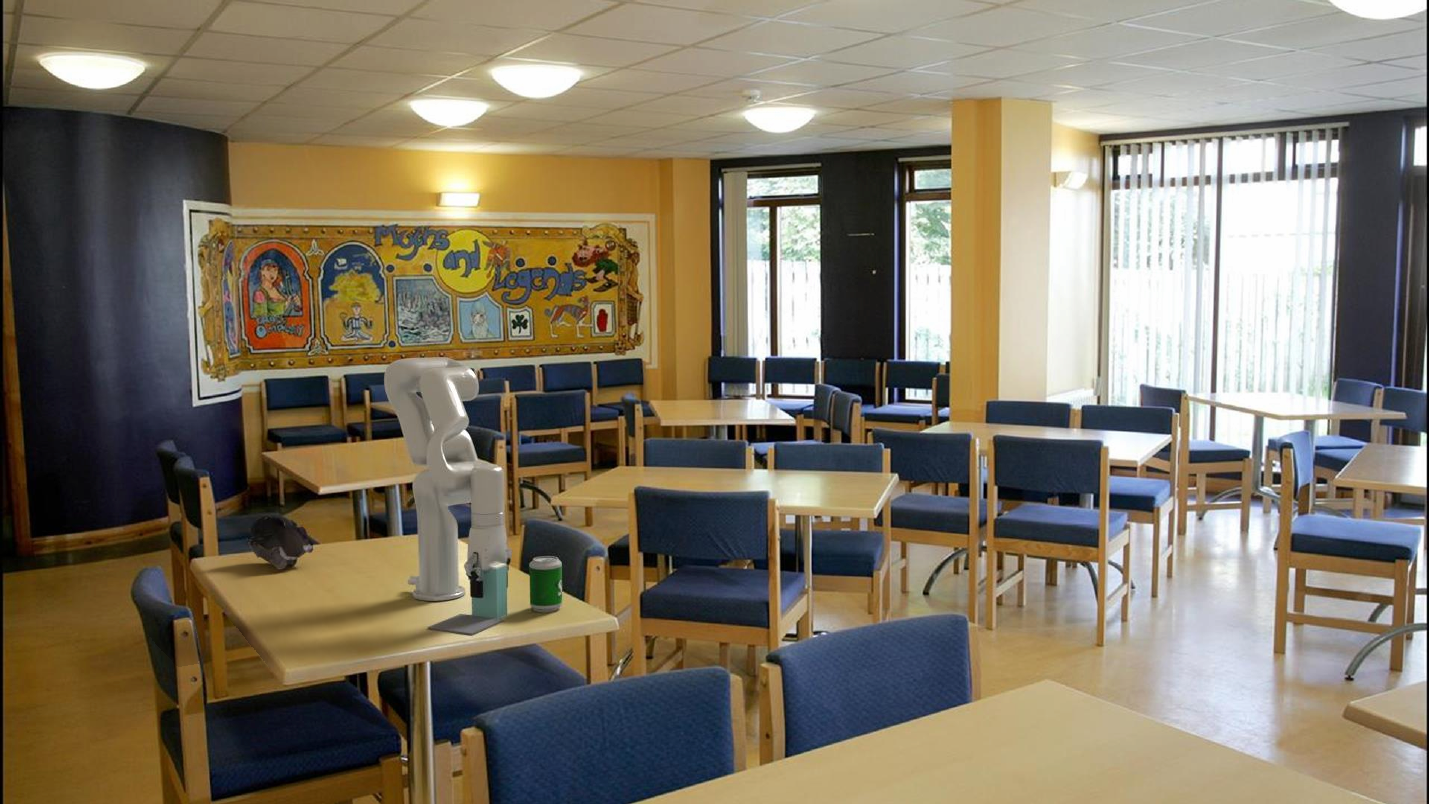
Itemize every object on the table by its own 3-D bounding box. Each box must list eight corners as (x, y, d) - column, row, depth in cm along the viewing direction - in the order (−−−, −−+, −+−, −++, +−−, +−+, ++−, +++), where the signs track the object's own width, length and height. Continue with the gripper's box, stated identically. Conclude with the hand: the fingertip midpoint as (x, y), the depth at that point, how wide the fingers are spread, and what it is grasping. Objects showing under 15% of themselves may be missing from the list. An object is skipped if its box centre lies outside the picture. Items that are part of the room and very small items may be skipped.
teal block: (471, 615, 263) (471, 564, 262) (482, 611, 266) (481, 561, 265) (497, 619, 260) (496, 567, 259) (507, 614, 264) (506, 563, 263)
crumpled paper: (323, 562, 314) (277, 557, 325) (315, 510, 312) (270, 507, 323) (280, 577, 302) (234, 571, 313) (271, 523, 300) (226, 519, 311)
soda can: (555, 614, 264) (555, 563, 263) (525, 612, 266) (524, 561, 265) (566, 605, 272) (566, 556, 271) (536, 603, 273) (536, 554, 272)
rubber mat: (427, 628, 252) (427, 627, 252) (460, 615, 263) (460, 613, 263) (472, 635, 247) (472, 633, 247) (504, 621, 258) (504, 619, 258)
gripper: (496, 512, 271) (497, 582, 272) (451, 524, 255) (453, 599, 256) (523, 514, 268) (524, 585, 269) (479, 527, 252) (480, 603, 253)
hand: (489, 592), depth 263 cm, fingers open, 9 cm apart
